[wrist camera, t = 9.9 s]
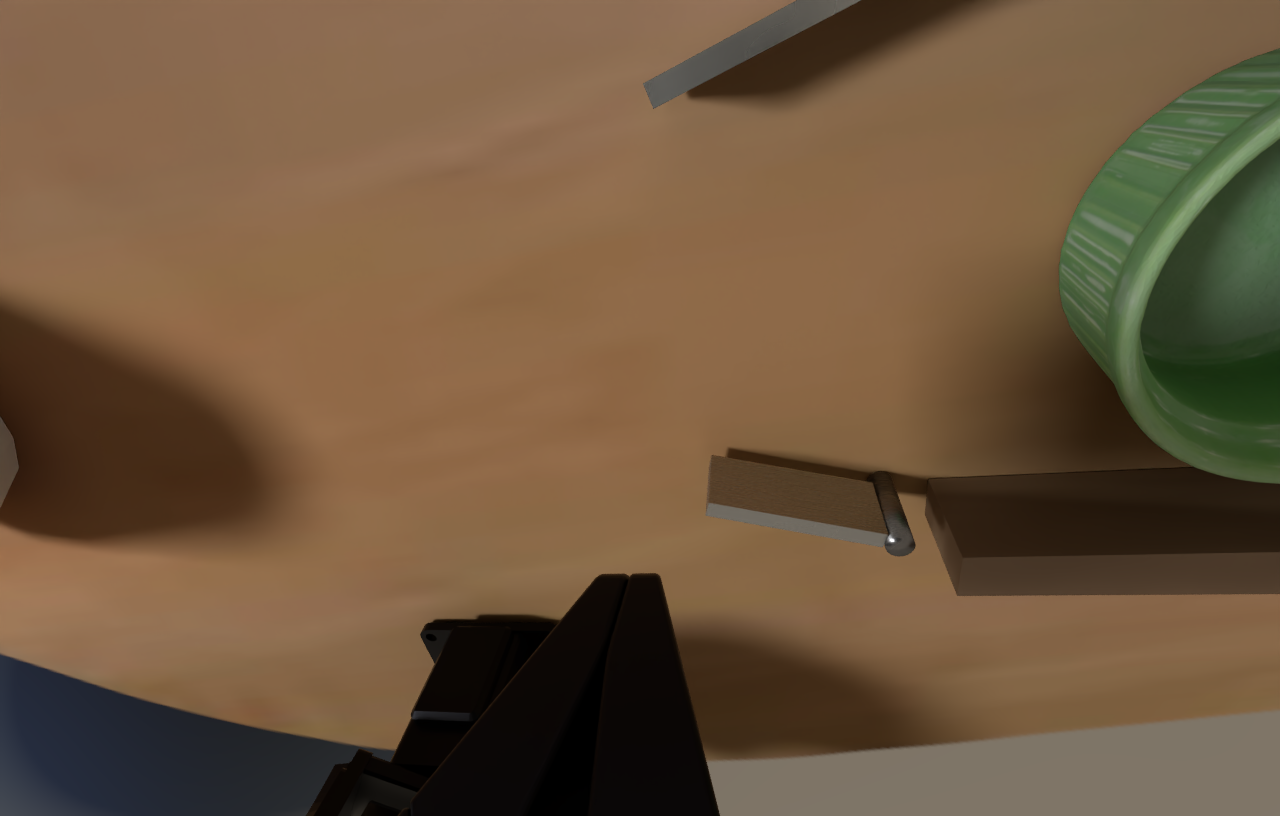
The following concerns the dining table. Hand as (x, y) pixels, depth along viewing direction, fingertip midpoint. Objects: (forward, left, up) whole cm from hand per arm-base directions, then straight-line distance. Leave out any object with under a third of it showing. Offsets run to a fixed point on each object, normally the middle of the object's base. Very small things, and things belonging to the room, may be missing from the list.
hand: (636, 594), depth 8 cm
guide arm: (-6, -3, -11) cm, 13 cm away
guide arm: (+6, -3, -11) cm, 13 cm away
